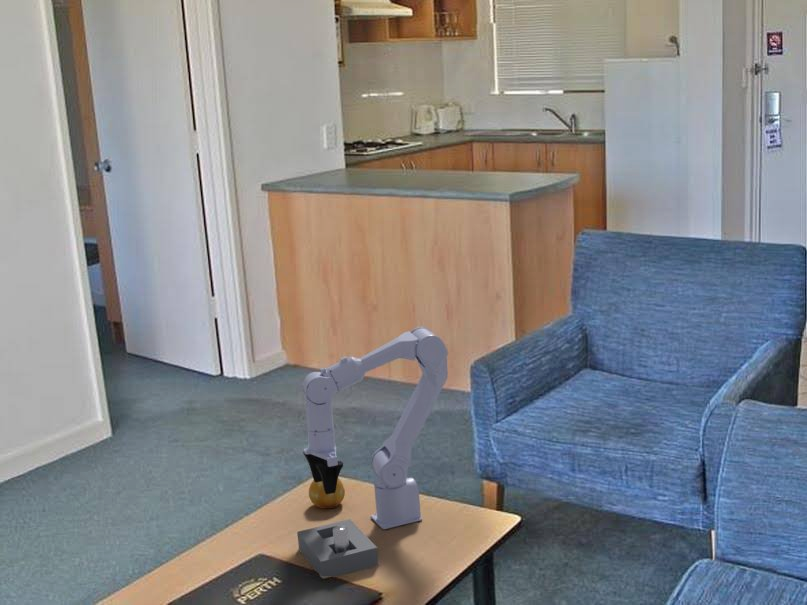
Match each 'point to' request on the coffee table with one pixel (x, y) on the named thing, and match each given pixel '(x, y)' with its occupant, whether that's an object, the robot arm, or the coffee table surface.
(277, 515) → the coffee table surface
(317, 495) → the fruit
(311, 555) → the hole board
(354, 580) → the coffee table surface
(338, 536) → the pin
